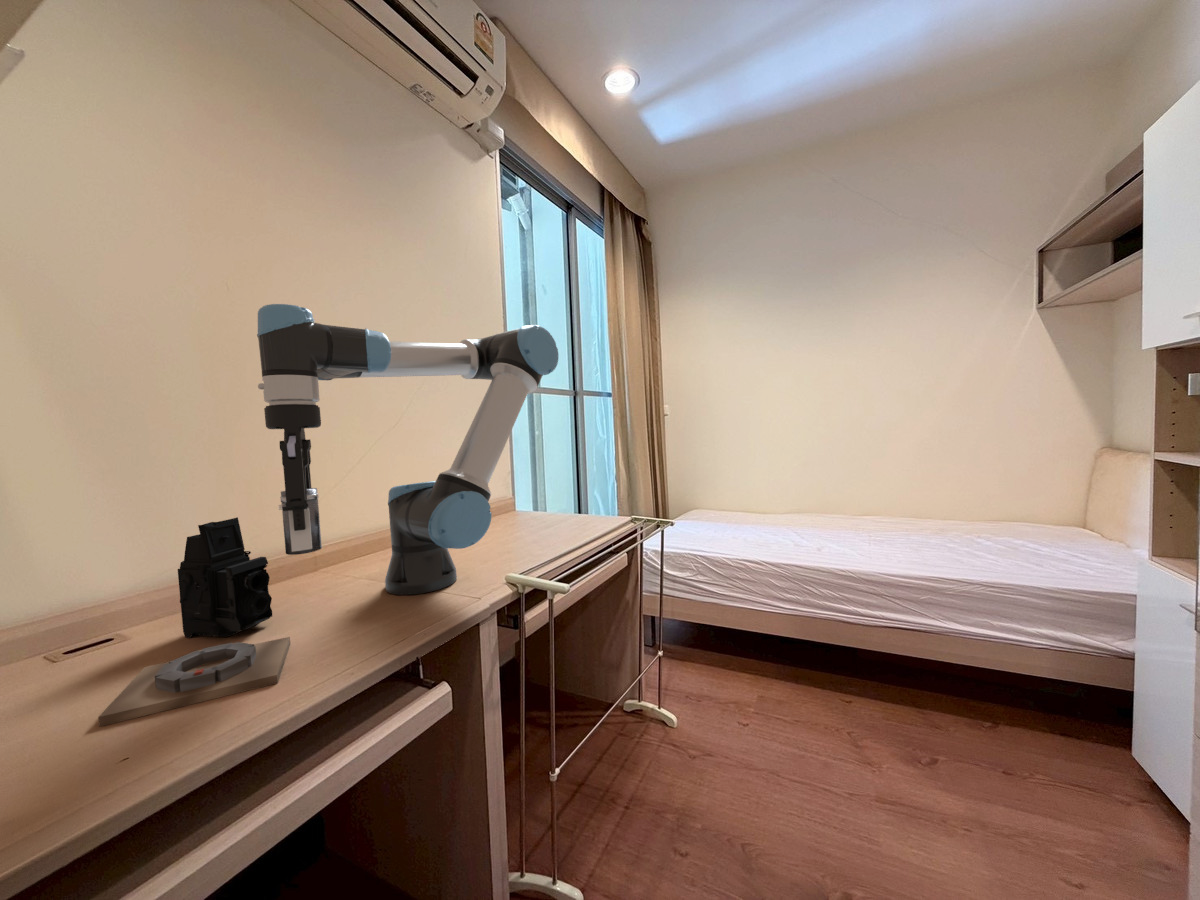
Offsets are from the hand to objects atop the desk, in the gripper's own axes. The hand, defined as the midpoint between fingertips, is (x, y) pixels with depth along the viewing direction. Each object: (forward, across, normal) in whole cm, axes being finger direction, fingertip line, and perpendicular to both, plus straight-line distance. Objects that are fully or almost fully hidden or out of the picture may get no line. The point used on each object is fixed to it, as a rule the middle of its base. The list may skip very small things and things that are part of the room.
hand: (304, 545), depth 76 cm
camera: (+17, -15, -13) cm, 26 cm away
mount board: (+16, +5, -12) cm, 21 cm away
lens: (+1, 0, 0) cm, 1 cm away
